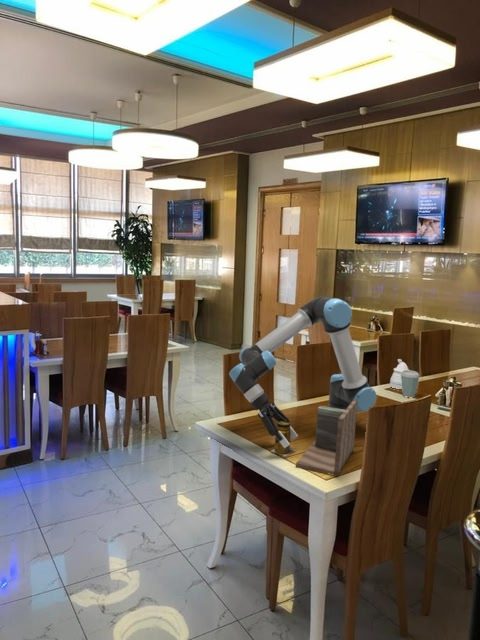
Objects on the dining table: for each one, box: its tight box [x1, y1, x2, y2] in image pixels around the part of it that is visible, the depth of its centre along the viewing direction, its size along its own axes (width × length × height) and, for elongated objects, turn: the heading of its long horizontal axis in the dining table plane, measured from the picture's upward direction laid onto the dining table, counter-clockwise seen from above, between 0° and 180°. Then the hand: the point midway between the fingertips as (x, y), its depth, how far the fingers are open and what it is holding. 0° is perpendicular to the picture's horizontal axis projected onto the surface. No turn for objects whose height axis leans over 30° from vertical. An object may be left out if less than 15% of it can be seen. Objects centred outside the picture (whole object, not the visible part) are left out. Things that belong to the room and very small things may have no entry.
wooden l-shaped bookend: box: [295, 400, 358, 476], centre depth 195 cm, size 28×16×22 cm, turn 156°
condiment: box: [271, 421, 297, 457], centre depth 200 cm, size 7×8×12 cm
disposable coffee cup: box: [401, 369, 420, 397], centre depth 291 cm, size 11×11×15 cm
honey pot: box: [389, 358, 409, 389], centre depth 310 cm, size 13×13×18 cm
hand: (291, 442), depth 199 cm, fingers open, 10 cm apart
